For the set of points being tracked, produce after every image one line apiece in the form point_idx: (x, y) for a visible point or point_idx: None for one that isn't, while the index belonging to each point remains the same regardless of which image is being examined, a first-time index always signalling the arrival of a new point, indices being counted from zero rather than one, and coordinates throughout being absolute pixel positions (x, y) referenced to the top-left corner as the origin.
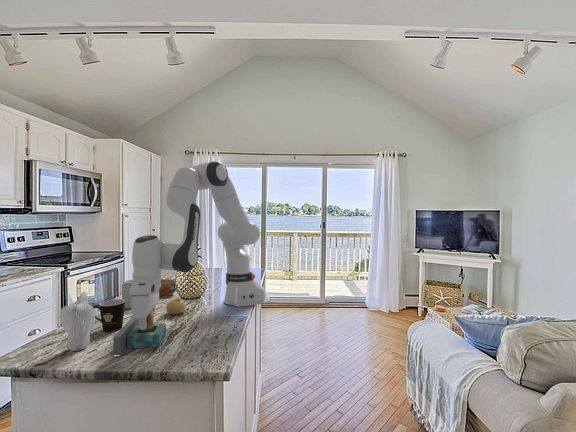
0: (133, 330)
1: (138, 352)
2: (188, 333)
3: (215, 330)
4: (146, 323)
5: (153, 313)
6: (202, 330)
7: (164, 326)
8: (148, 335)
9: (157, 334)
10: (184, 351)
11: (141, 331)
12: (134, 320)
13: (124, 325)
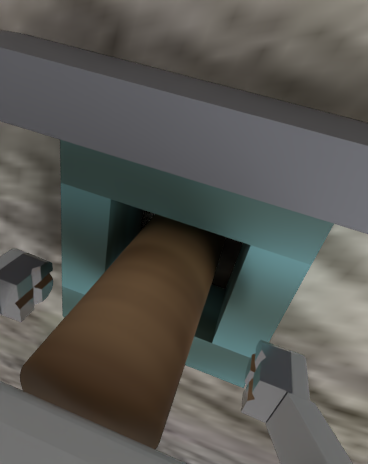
0: (182, 181)
1: (57, 177)
2: (210, 394)
3: (195, 456)
4: (7, 314)
5: (267, 423)
6: (218, 434)
7: (200, 364)
8: (63, 265)
9: (62, 307)
10: (40, 330)
11: (140, 237)
12: (329, 221)
13: (187, 100)
